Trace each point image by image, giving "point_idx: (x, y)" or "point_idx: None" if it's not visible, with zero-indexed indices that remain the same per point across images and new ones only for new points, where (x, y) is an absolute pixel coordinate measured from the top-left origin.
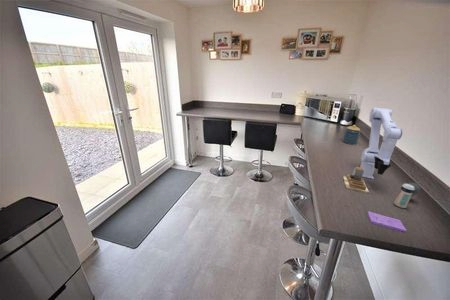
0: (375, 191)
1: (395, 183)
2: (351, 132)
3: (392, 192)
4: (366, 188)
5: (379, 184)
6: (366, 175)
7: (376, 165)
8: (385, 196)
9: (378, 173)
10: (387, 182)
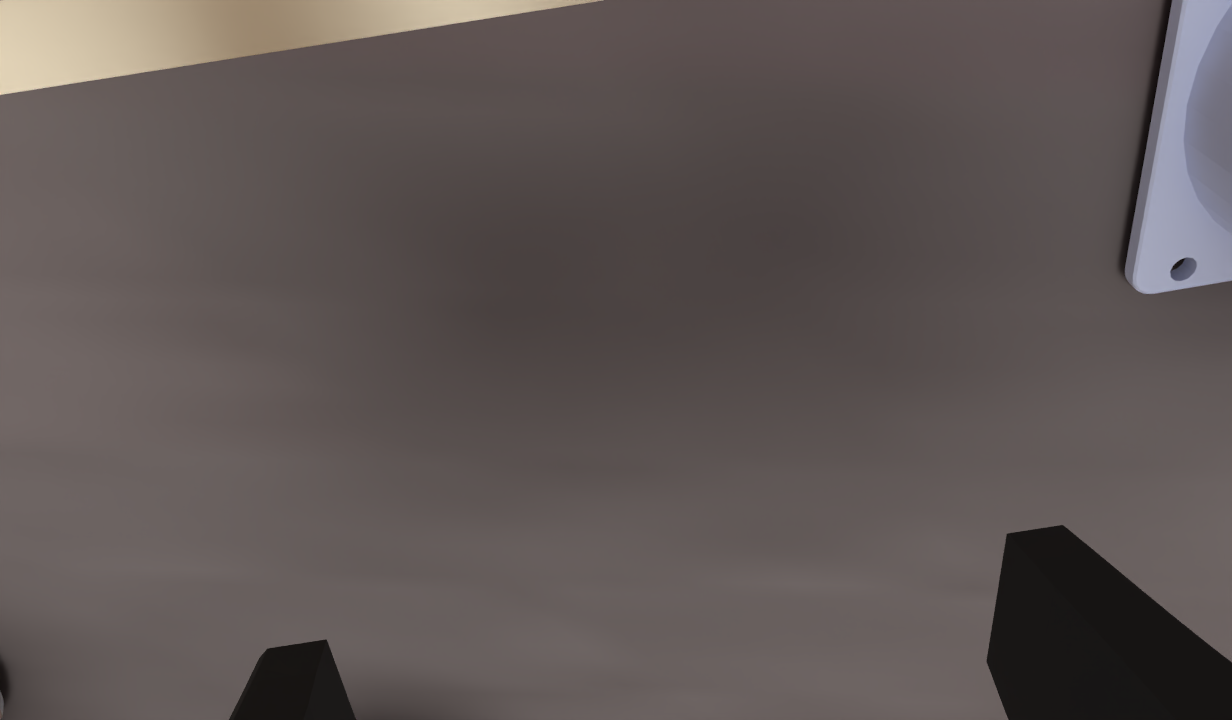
0: (239, 288)
1: None
2: None
3: (517, 596)
4: (57, 52)
5: (821, 389)
6: (1219, 96)
7: (1105, 713)
8: (131, 479)
9: (259, 688)
10: None
